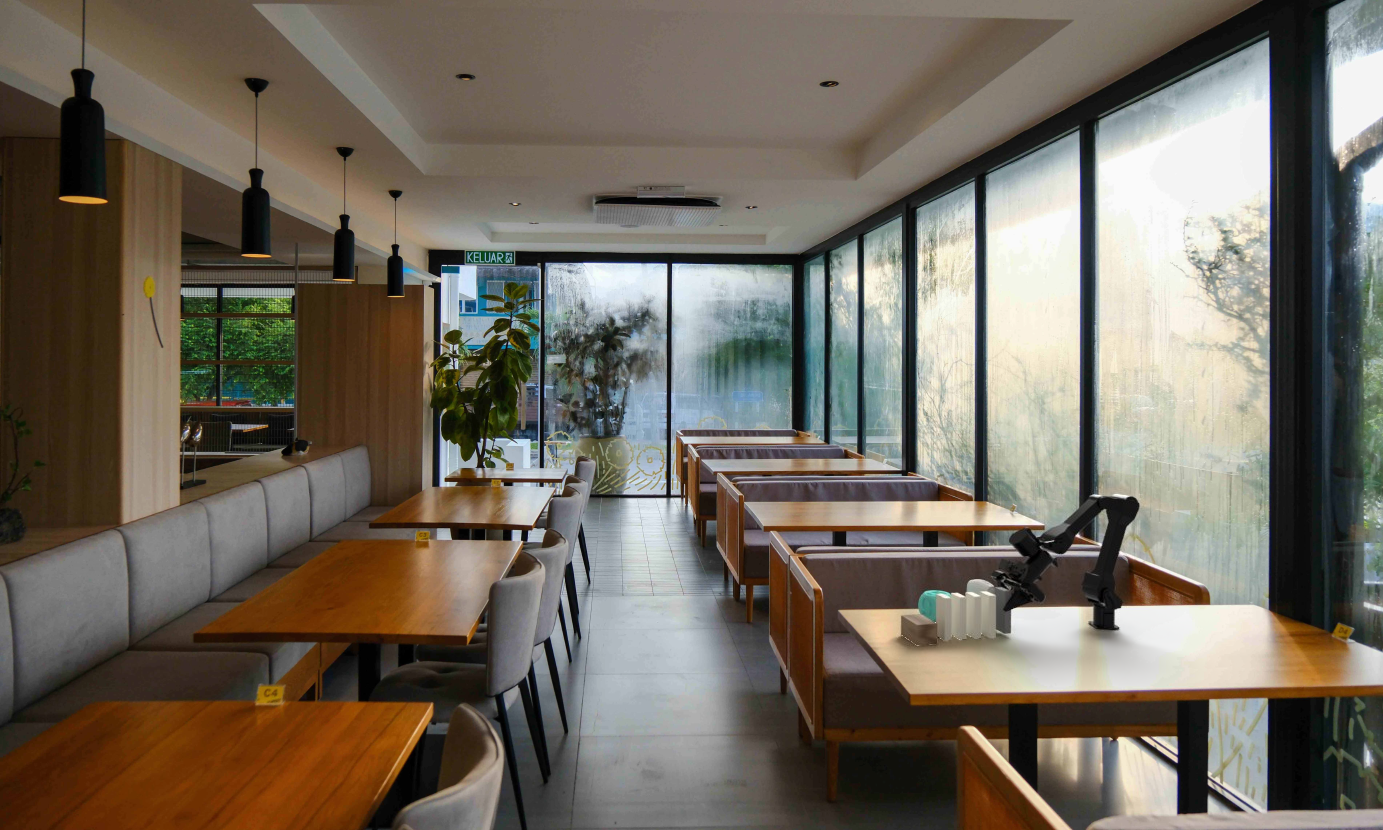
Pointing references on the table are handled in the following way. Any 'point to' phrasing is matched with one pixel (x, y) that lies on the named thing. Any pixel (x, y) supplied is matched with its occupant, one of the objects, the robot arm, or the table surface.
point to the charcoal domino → (1001, 616)
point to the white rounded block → (980, 586)
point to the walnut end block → (919, 629)
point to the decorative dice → (929, 603)
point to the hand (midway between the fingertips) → (998, 608)
